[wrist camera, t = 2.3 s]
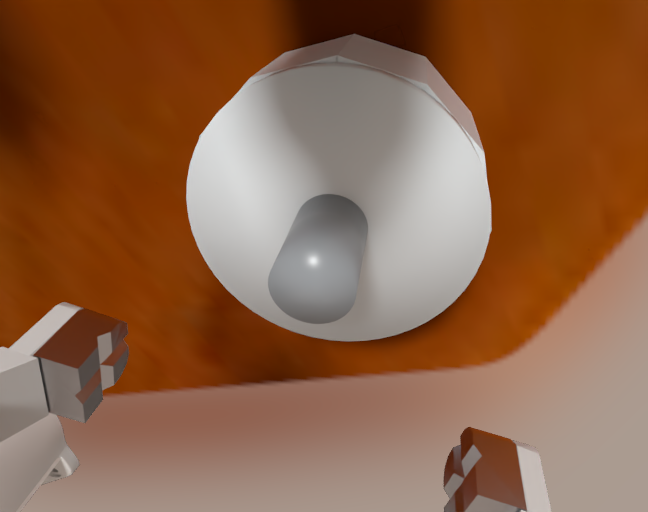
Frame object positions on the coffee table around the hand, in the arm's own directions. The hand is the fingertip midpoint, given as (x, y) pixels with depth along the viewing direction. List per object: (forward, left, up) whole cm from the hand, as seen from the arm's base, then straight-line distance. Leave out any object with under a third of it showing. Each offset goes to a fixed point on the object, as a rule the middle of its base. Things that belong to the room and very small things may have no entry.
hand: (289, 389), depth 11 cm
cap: (0, 0, -14) cm, 14 cm away
